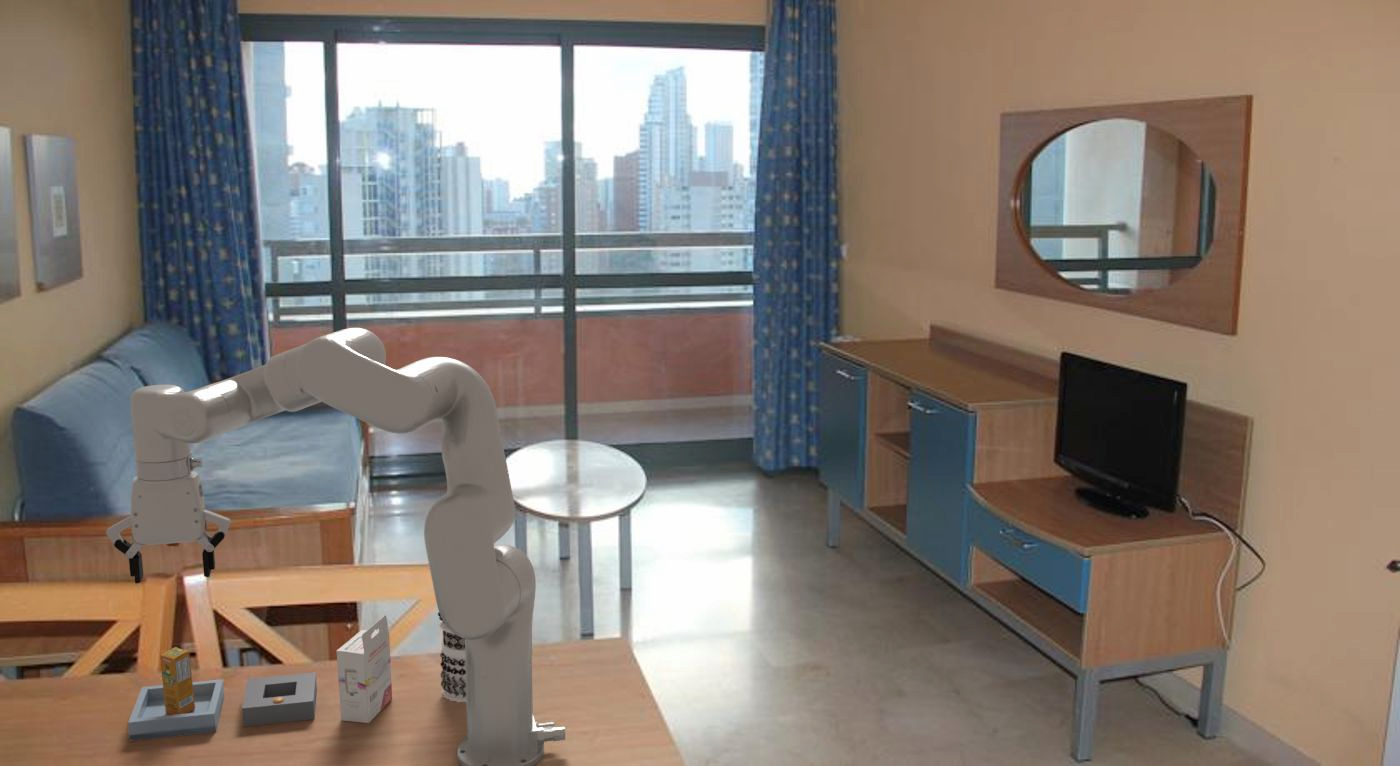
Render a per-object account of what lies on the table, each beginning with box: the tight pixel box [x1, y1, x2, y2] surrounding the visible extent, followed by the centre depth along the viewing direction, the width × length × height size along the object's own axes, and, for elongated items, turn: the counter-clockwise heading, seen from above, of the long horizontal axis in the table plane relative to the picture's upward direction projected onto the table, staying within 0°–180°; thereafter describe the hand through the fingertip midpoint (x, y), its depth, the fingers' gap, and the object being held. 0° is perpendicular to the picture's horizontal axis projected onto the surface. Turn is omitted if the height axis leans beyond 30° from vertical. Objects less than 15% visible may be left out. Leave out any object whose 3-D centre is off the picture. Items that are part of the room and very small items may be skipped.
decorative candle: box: [436, 605, 466, 703], centre depth 195 cm, size 9×9×25 cm
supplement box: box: [159, 646, 195, 715], centre depth 186 cm, size 3×3×10 cm
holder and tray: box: [127, 671, 318, 741], centre depth 189 cm, size 26×12×3 cm, turn 105°
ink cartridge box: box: [336, 615, 393, 724], centre depth 189 cm, size 9×5×15 cm, turn 168°
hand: (173, 577), depth 184 cm, fingers open, 9 cm apart
